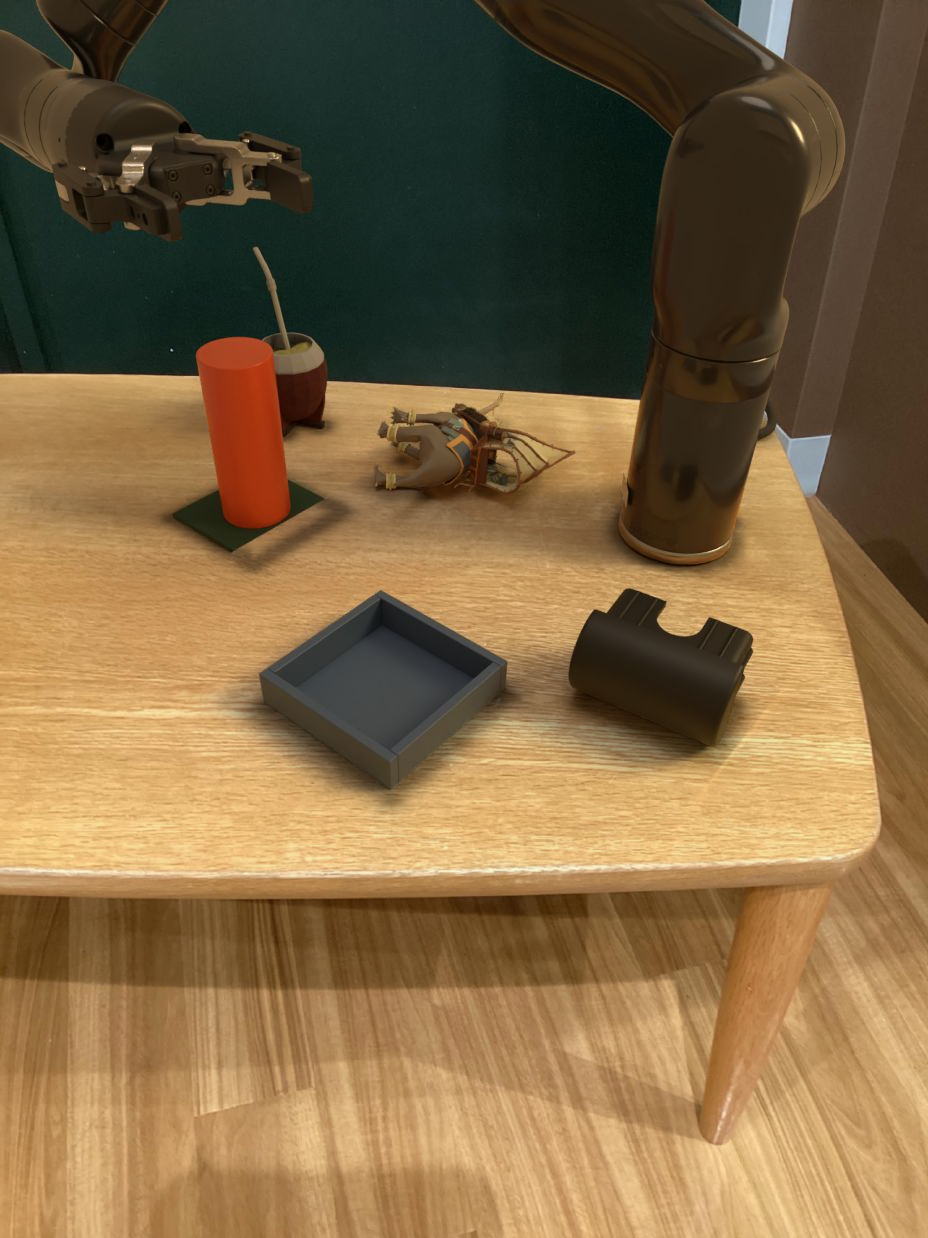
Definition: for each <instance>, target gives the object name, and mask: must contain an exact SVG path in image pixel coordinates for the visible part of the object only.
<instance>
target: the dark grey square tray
mask: <svg viewBox="0 0 928 1238" xmlns="http://www.w3.org/2000/svg"><path fill="white" fill-rule="evenodd" d="M507 671H508V660H507V659H505V658H503V657H501V656H500V655H497V654H496V653H494V652H492V651H491V650H489V649H487V648H485V647H483V646H482V645H480V644H478V643H476V642H474V641H473V640H471V639H469V638H468V637H466V636H464V635H462V634H460V633H459V632H456V631H455V630H453V629H451V628H450V627H448V626H446V625H444V624H443V623H440V622H438V621H437V620H435V619H433V618H431V617H430V616H428V615H426V614H424V613H423V612H421V611H419V610H417V609H415V608H414V607H412V606H410V605H409V604H407V603H405V602H403V601H401V600H400V599H398V598H396V597H394V596H393V595H391V594H389V593H387V592H385V591H383V590H382V589H380V590H378V591H377V592H375V593H374V594H372V595H371V596H370V597H368V598H367V599H365V600H364V601H362V602H361V603H359V604H358V605H357V606H355V607H353V608H352V609H351V610H349V611H347V612H346V613H345V614H343V615H342V616H341V617H339V618H338V619H336V620H335V621H333V622H331V623H330V624H329V625H327V626H326V627H324V628H323V629H321V630H320V631H319V632H317V633H316V634H314V635H312V636H311V637H309V638H308V639H307V640H305V641H304V642H303V643H301V644H300V645H298V646H296V647H295V648H294V649H292V650H291V651H289V652H287V654H285V655H284V656H282V657H281V658H279V659H278V660H276V661H275V662H274V663H272V664H270V665H269V666H267V668H265V669H263V670H262V671H260V672H259V673H258V676H259V678H258V679H259V683H260V688H261V689H260V690H261V695H262V700H263V703H264V704H266V705H267V706H269V707H270V708H272V709H273V710H275V711H276V712H277V713H278V714H280V715H281V716H283V717H285V718H286V719H287V720H289V721H291V722H292V723H293V724H294V725H296V726H297V727H299V728H301V729H302V730H304V731H305V732H306V733H308V735H311V736H312V737H314V738H315V739H316V740H318V741H319V742H321V743H322V744H324V745H325V746H326V747H328V748H329V749H331V750H332V751H334V752H335V753H336V754H338V755H339V756H341V757H342V758H344V759H345V760H346V761H348V762H350V763H351V764H352V765H353V766H355V767H357V768H358V769H359V770H360V771H362V772H364V773H365V774H367V775H368V776H369V777H371V778H372V779H374V780H375V781H377V782H378V783H379V784H381V785H382V786H384V787H385V788H387V789H388V790H389V791H392V790H393V789H394V788H396V786H398V785H399V784H401V782H402V781H403V780H404V779H405V778H407V777H408V776H409V775H410V774H411V773H412V772H413V771H415V770H416V769H417V768H418V767H419V766H420V765H422V763H424V762H425V761H426V760H427V759H428V758H429V757H431V755H433V754H434V753H435V752H436V751H437V750H438V749H440V748H441V747H442V746H443V745H444V744H445V743H446V742H447V741H448V740H450V739H451V738H452V737H453V736H454V735H455V734H456V733H457V732H458V731H460V730H461V729H462V728H463V727H464V726H465V725H466V724H468V723H469V722H470V721H471V720H472V719H473V718H474V717H475V716H477V715H478V714H479V713H480V712H482V710H483V709H484V708H485V707H487V706H488V705H489V704H490V703H491V702H492V701H493V700H495V699H496V698H497V697H499V695H500V694H501V693H502V692H504V690H506V687H507Z"/></svg>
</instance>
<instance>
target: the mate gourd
mask: <svg viewBox="0 0 928 1238" xmlns="http://www.w3.org/2000/svg"><path fill="white" fill-rule="evenodd" d="M252 251H253V253H254V255H255V257H256V258H257V260H258V263H259V264H260V266H261V269H262V271H263V273H264V275H265V279H266V281H265V283H266V285H267V289H268V292H270V296H271V300H272V304H273V308H274V312H275V315H276V320H277V325H278V329H279V333H274V334H271V335H268V336H265V337H264V338H263V339H261V341H264V342H266V343H267V344H269V345H270V346H271V348H272V350H273V357H274V365H275V374H276V383H277V391H278V400H279V409H280V418H281V426H282V435H283V438H285V437H286V436H288V434H289V433H291V432H292V430H293V429H294V428H295V427H296V426H303V427H308V428H313V429H320V430H323V429H324V428H325V427H326V421H325V420H323V415H324V411H325V407H326V406H325V405H326V392H327V387H328V365H327V361H326V358H325V352H324V351H323V350H322V348H321V347H320V346H319V344H318V343H316V341H315V340H314V339H313V338H312V337H311V336H308V335H306V334H303V333H298V332H287V330H286V326H285V322H284V318H283V314H282V309H281V306H280V301H279V298H278V293H277V290H278V288H277V285H276V281H275V278H274V277H273V275H272V273H271V270H270V269H269V266H268V264H267V262H266V260H265V259H264V257H263V254H262V253H261V251H260V249H259V247H258V246H254V247H253V248H252Z"/></svg>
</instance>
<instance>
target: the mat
mask: <svg viewBox="0 0 928 1238" xmlns="http://www.w3.org/2000/svg"><path fill="white" fill-rule="evenodd" d="M288 487H289V496H290V505H291V509H290V512H289V514H288V516H287V517H286V518H285V519H284V520H282V521H281V522H279V523H277V524H275V525H272V526H269V527H265V528H258V529H247V528H241V527H237V526H234V525H232V524H231V523H229V522H228V521H227V520H226V519H225V518H224V515H223V510H222V504H221V498H220V493H219V489H217V490H214V491H213V492H211V493H209V494H207V495H205V496H203V497H201V498H200V499H198V500H195V501H194V502H192V503H189V504H188V505H186V506H184V507H182V508H180V509H178V510H176V511H173V512H172V513H171V514H172V517H173V518H174V519H175V520H176V521H178V522H180V523H182V524H184V525H185V526H187V527H189V528H190V529H192V530H194V531H196V532H197V533H198V534H200V535H202V536H204V537H205V538H207V539H209V540H210V541H212V542H214V543H215V544H217V545H219V546H220V547H222V548H224V549H225V550H227V551H229V552H231V553H233V552H235V551H237V550H239V549H240V548H242V547H244V546H245V545H247V544H249V543H250V542H252V541H254V540H255V539H258V538H260V537H261V536H263V535H264V534H266V533H268V532H270V531H271V530H273V529H275V528H277V527H278V526H280V525H283V524H284V523H285V522H287V521H289V520H291V519H293V518H294V517H296V516H298V515H299V514H301V513H303V512H305V511H307V510H308V509H310V508H312V507H313V506H315V505H318V504H319V503H321V502H322V501H324V500H326V498H325V497H323V496H321V495H319V494H318V493H315V492H313V491H311V490H310V489H307V488H305V487H304V486H302V485H300V484H298V483H296V482H294V481H292V480H290V479H288Z"/></svg>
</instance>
